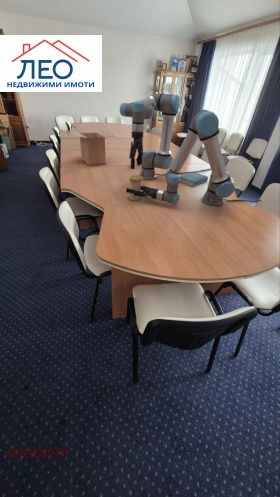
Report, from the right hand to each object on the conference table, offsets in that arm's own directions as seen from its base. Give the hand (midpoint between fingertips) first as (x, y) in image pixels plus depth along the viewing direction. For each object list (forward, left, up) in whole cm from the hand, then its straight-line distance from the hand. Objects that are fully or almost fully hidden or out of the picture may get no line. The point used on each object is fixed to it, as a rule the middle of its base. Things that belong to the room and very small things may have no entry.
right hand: (129, 188), depth 164 cm
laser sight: (-18, -90, -7) cm, 92 cm away
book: (-59, -39, -7) cm, 71 cm away
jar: (-4, +2, -7) cm, 8 cm away
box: (+39, -89, -7) cm, 97 cm away
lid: (-4, +2, +9) cm, 10 cm away
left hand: (-4, +2, +16) cm, 17 cm away
